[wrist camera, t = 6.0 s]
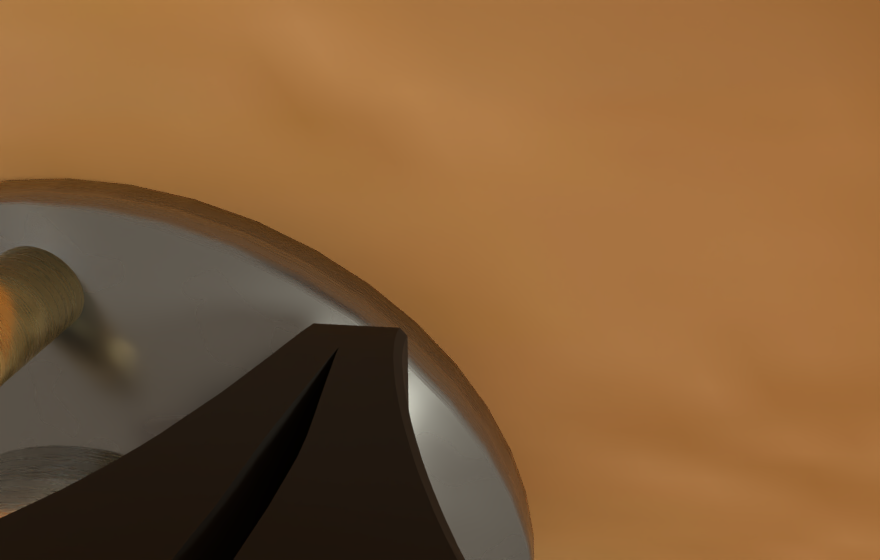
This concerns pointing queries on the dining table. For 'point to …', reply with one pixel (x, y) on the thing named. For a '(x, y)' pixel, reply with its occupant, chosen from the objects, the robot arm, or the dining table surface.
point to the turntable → (207, 337)
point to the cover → (45, 472)
